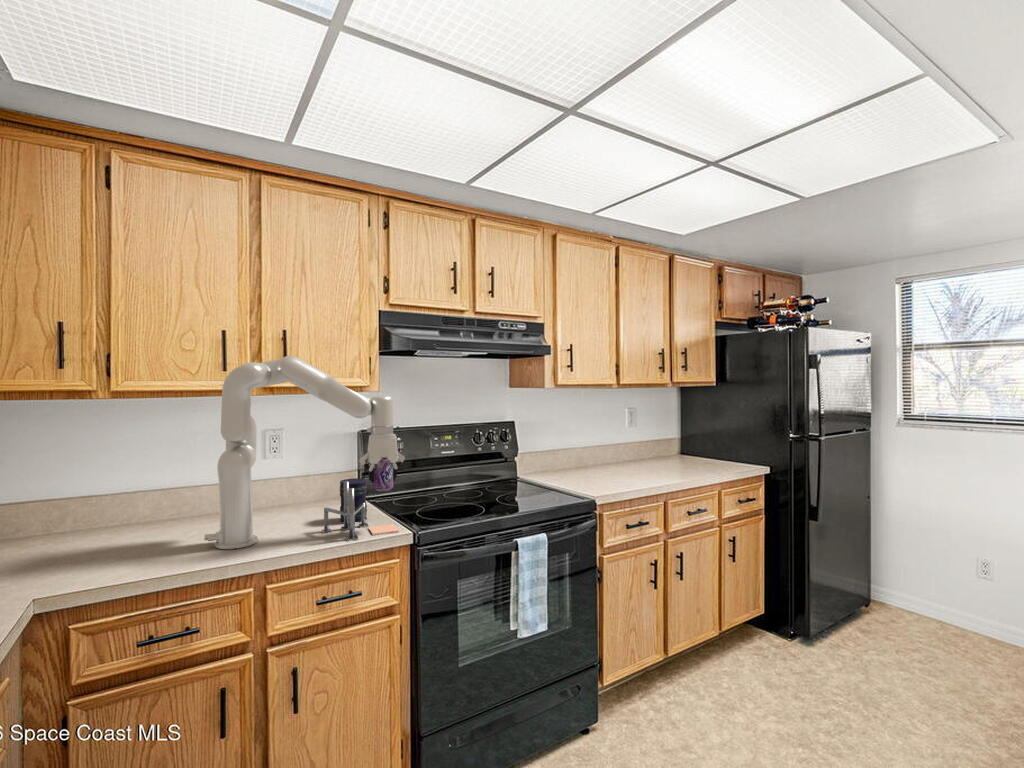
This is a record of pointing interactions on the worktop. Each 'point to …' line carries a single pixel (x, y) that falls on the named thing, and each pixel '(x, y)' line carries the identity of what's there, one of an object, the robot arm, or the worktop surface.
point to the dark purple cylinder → (355, 496)
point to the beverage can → (383, 475)
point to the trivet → (383, 529)
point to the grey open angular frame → (347, 513)
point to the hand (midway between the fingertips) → (382, 480)
